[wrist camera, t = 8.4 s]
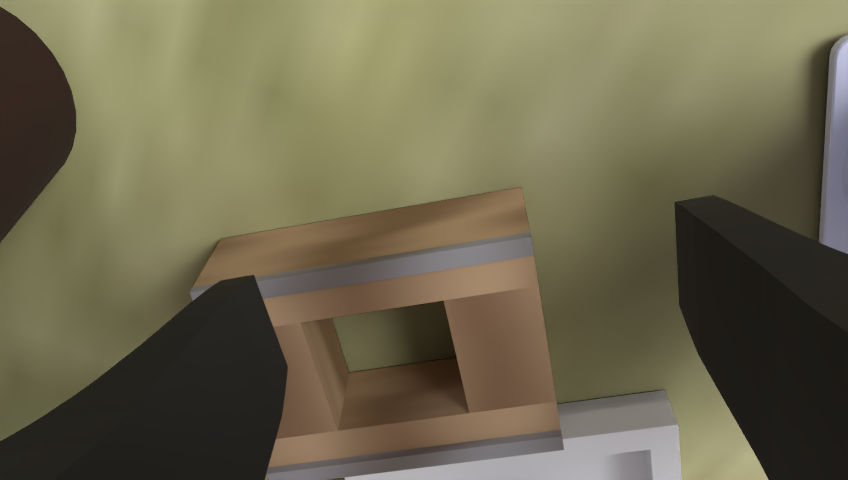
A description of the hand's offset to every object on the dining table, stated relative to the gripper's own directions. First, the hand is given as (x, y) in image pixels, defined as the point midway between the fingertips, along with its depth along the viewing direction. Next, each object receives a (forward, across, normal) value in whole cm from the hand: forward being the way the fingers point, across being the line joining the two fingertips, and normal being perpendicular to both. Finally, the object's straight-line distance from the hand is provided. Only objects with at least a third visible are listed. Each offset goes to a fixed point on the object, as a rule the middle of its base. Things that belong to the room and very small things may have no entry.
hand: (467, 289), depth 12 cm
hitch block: (+10, +4, +7) cm, 13 cm away
